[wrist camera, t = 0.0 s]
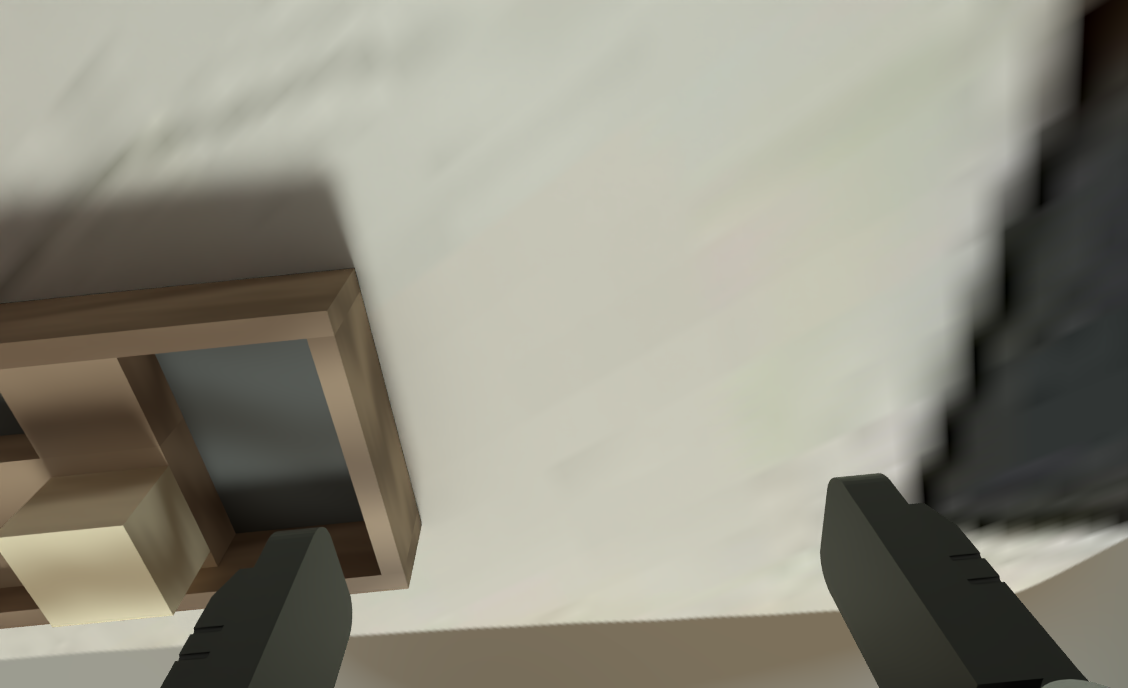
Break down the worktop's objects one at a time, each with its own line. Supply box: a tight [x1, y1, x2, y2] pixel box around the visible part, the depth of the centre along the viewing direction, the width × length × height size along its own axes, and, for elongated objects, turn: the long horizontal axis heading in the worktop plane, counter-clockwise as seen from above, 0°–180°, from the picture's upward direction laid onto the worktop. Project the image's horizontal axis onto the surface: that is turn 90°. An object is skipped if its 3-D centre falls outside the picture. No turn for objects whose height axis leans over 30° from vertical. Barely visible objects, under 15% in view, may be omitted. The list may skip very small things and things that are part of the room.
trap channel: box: [0, 268, 422, 629], centre depth 28 cm, size 14×26×4 cm, turn 95°
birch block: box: [0, 466, 210, 627], centre depth 27 cm, size 5×5×4 cm
